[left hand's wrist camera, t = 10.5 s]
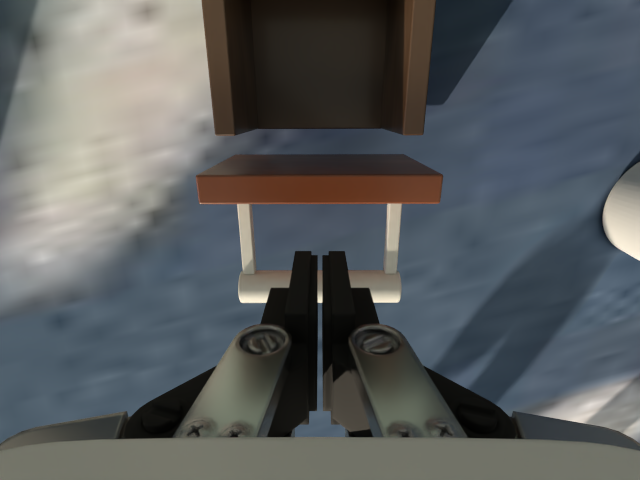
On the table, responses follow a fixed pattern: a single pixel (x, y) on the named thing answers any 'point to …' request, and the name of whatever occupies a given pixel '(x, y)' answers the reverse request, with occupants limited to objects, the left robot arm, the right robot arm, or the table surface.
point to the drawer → (319, 114)
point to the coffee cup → (624, 213)
